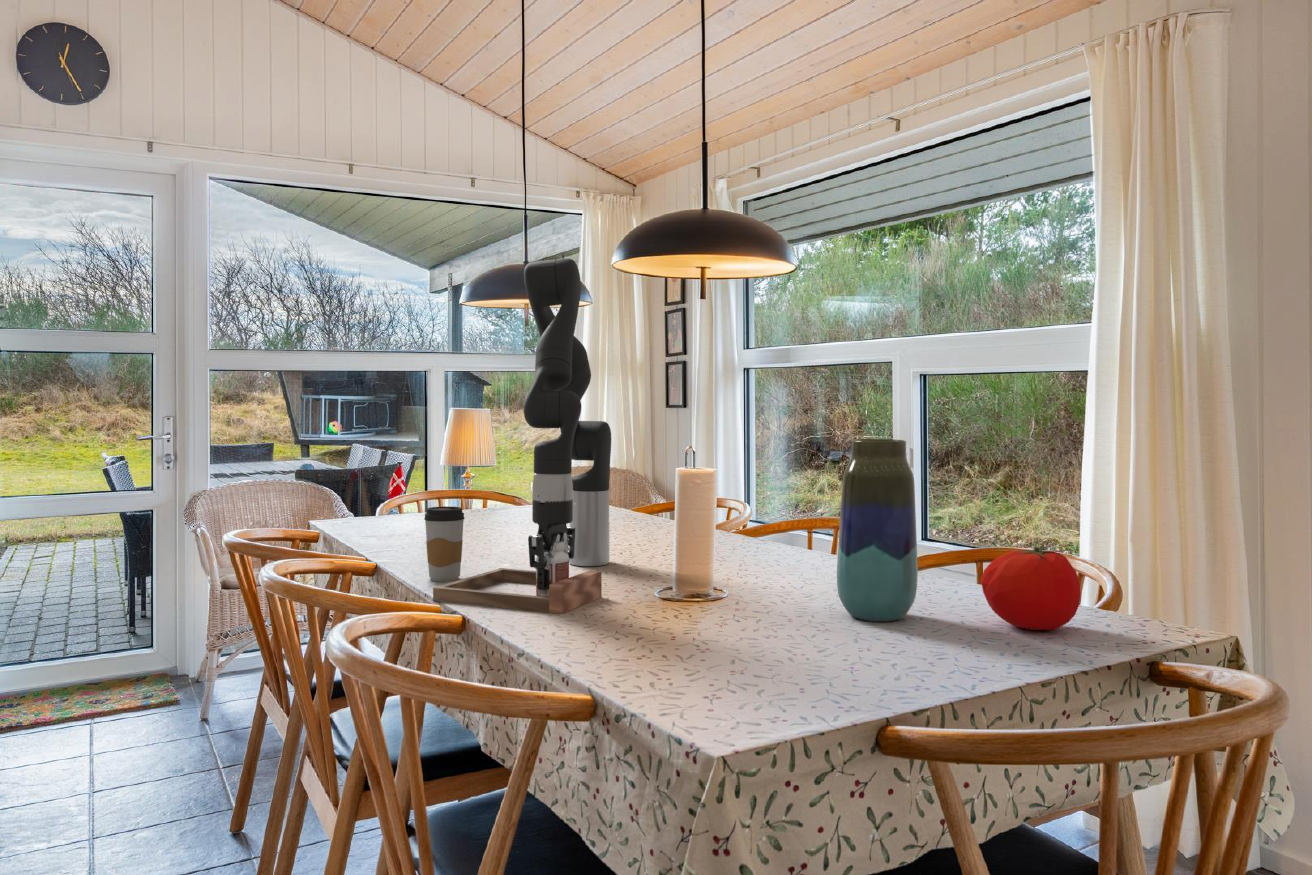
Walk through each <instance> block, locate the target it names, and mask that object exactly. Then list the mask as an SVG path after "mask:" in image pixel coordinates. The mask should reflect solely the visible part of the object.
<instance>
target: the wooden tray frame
mask: <svg viewBox="0 0 1312 875" xmlns="http://www.w3.org/2000/svg"><path fill="white" fill-rule="evenodd" d="M602 575H603V573H602V571H601V570H593V569H592V570H590V569H589V570H587V571H583V572H581V573H578V574H576V575H572V576H569V578H567V579H564V580H561V581H558V582H556V583H553V584H550V585H549V597H542V596H536V595H532V594H530V595H529V594H520V593H511V592H510V593H509V592H501V591H500V592H499V591H488V590H481V589H482V588H485V587H488V586H489V587H490V586H491V585H495V584H497V583H501V582H508V583H509V582H510V583H520V584H529V585H530V584H531V585H536V570H527V569H526V570H525V569H517V568H514V569H513V568H506V567H505V568H502V567H500V568H497V569H493V570H489V571H487V572H483V573H479V574H475V575H472V576H470V577H465V578H462V579H457V580H454V581H450V582H449V583H448V582H447V583H444V584H441V585H438V586H434V587H432V601H437V602H444V603H445V602H446V603H454V604H463V605H474V606H483V607H491V608H492V607H493V608H502V609H510V610H511V609H512V610H522V611H530V612H541V613H542V612H543V613H549V614H559V615H562V614H565V613H567V612H569V611H572V610H575V609H576V608H579V607H581V606H584V605H586V604H588V603H591V602H593V601H596V600H598V599H601V598H602V596H603V595H602V593H603V592H602V588H603V587H602V584H603V583H602V582H603V581H602V577H603V576H602Z"/></svg>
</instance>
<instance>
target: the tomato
mask: <svg viewBox="0 0 1312 875" xmlns="http://www.w3.org/2000/svg"><path fill="white" fill-rule="evenodd" d="M1044 547H1045V544H1042V546H1040V548H1039V547H1038V546H1034V547H1033V550H1030V549H1024V550H1013V551H1009V552H1005V553H1003V554H1002V555H999V556H998V557H996V558H994V559H993V560H992V561H991V562H990V563H989V564H988V565H987V566H986V567H985V569H984V570H983V571H982V572H983V573H982V576H981V579H980V583H981V588H982V592H983V593H982V594H983V595H984V598H985V600H986V601H987V604H988V606H989V607H990V608H991V610H992V611H993V612H994V614H996V615H997V616H998V617H999V618H1000V619H1002V621H1005V622H1006V623H1008V624H1010V625H1012V626H1014V627H1019V628H1021V629H1024V628H1025V630H1028V629H1030V630H1029V631H1054V630H1056V629H1058V628H1061V627H1062V626H1065V625H1067V624H1068V623H1070V621H1071V620H1073V619H1074V616H1076V613H1077V611H1078V609H1079V606H1080V600H1081V583H1080V580H1079V577H1078V573H1077V571H1076V570H1075V568H1074V567H1073V565H1072V564H1071V562H1070V561H1069V559H1068V558H1067V557H1066V556H1065V555H1064V554H1061V553H1060V552H1061V550H1043V549H1044Z"/></svg>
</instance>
